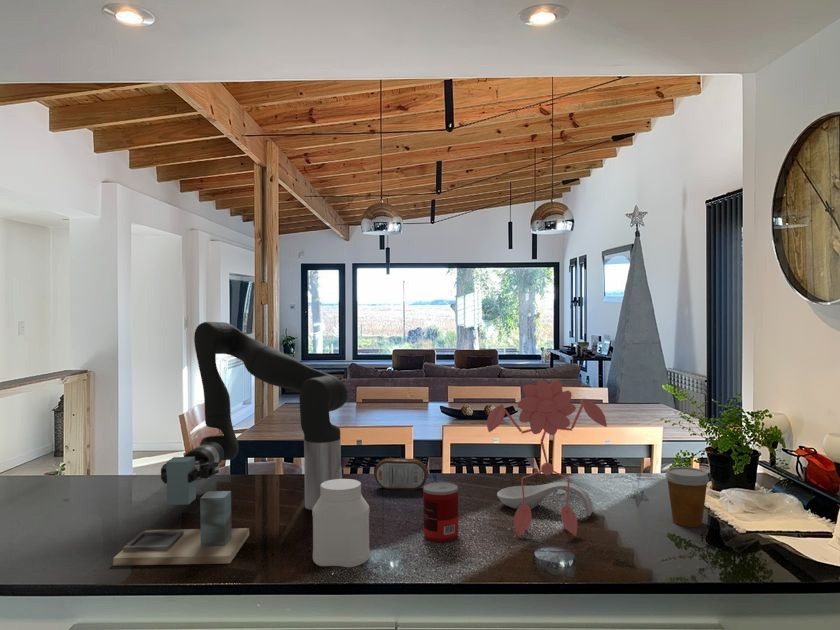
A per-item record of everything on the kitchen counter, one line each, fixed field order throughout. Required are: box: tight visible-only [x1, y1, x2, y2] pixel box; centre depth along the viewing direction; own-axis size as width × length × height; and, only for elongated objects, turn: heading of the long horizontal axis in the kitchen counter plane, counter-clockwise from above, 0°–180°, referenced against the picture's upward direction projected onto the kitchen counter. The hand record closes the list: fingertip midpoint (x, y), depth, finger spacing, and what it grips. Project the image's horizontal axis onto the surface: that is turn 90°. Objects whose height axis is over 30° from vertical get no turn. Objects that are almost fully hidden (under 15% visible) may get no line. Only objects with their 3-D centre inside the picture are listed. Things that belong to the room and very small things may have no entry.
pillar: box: [165, 456, 197, 506], centre depth 150 cm, size 5×5×10 cm
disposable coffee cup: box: [664, 466, 710, 528], centre depth 148 cm, size 10×10×12 cm
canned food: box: [422, 481, 459, 543], centre depth 140 cm, size 8×8×11 cm
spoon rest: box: [496, 481, 594, 517], centre depth 160 cm, size 24×12×7 cm, turn 67°
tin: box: [374, 457, 429, 491], centre depth 178 cm, size 15×3×8 cm, turn 84°
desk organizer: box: [112, 490, 250, 566], centre depth 134 cm, size 23×16×12 cm
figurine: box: [486, 378, 608, 554], centre depth 138 cm, size 15×26×35 cm, turn 85°
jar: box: [311, 478, 371, 568], centre depth 129 cm, size 12×10×15 cm
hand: (177, 478), depth 147 cm, fingers closed on pillar, 5 cm apart
